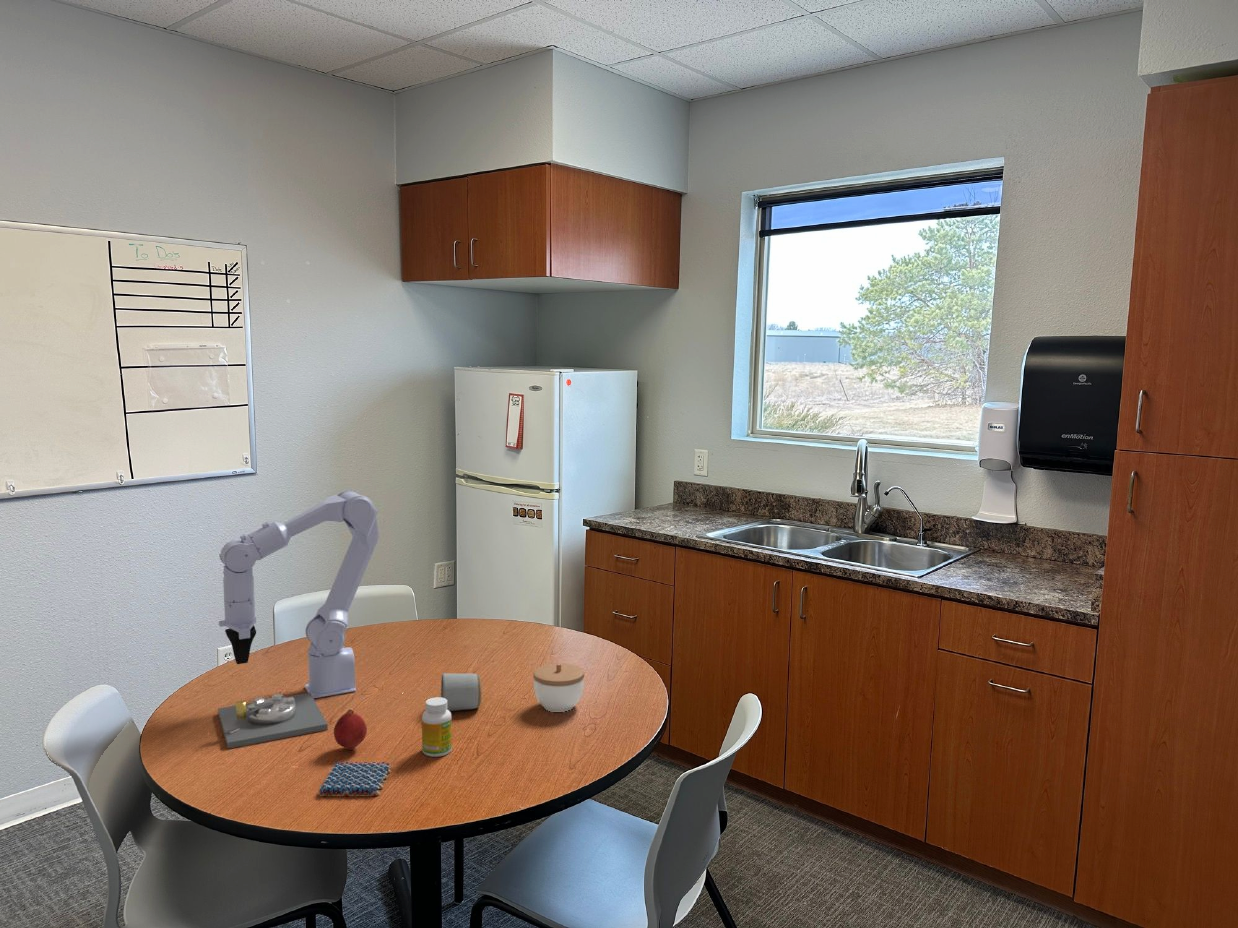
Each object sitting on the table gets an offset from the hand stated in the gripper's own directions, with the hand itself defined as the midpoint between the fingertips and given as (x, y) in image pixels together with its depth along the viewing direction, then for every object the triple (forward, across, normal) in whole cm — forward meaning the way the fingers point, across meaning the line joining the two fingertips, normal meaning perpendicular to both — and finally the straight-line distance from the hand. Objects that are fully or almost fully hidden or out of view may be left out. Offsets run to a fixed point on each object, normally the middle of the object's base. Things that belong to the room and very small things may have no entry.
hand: (241, 662), depth 181 cm
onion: (+10, +31, +15) cm, 36 cm away
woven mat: (+10, +44, +13) cm, 47 cm away
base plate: (+9, +11, +4) cm, 15 cm away
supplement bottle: (+10, +39, +29) cm, 50 cm away
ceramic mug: (+10, +21, +40) cm, 46 cm away
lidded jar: (+10, +31, +58) cm, 66 cm away
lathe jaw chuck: (+8, +12, +3) cm, 15 cm away
